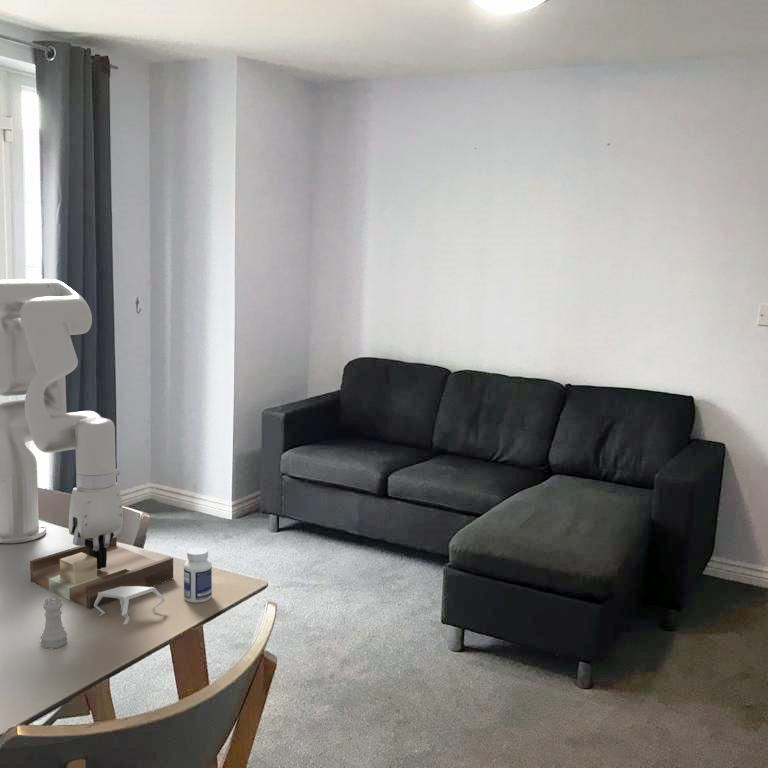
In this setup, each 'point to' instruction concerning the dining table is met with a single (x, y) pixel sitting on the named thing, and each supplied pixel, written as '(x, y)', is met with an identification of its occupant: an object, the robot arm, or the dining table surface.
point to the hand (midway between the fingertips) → (98, 566)
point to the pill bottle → (197, 576)
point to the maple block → (78, 568)
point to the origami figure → (127, 597)
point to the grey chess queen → (53, 625)
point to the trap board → (101, 574)
